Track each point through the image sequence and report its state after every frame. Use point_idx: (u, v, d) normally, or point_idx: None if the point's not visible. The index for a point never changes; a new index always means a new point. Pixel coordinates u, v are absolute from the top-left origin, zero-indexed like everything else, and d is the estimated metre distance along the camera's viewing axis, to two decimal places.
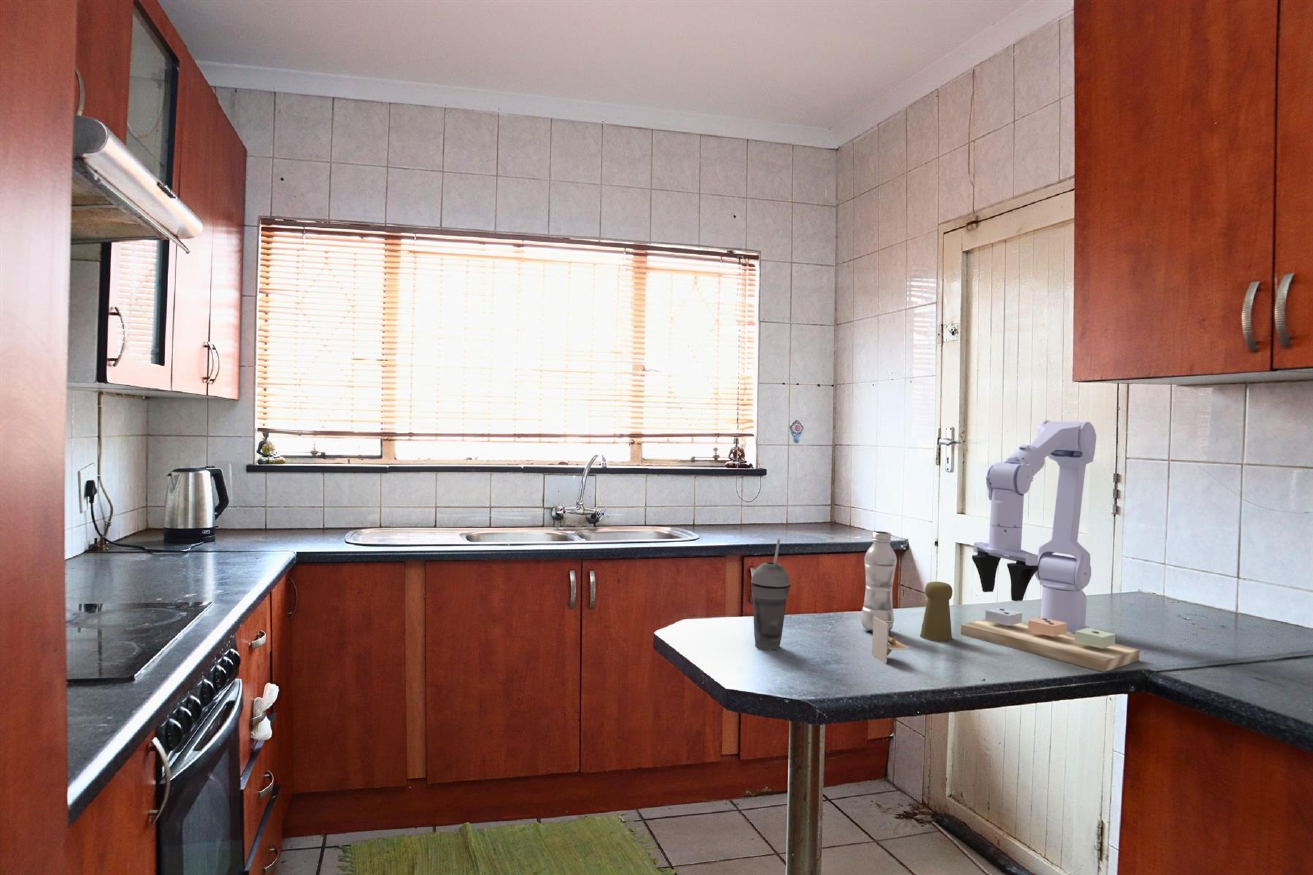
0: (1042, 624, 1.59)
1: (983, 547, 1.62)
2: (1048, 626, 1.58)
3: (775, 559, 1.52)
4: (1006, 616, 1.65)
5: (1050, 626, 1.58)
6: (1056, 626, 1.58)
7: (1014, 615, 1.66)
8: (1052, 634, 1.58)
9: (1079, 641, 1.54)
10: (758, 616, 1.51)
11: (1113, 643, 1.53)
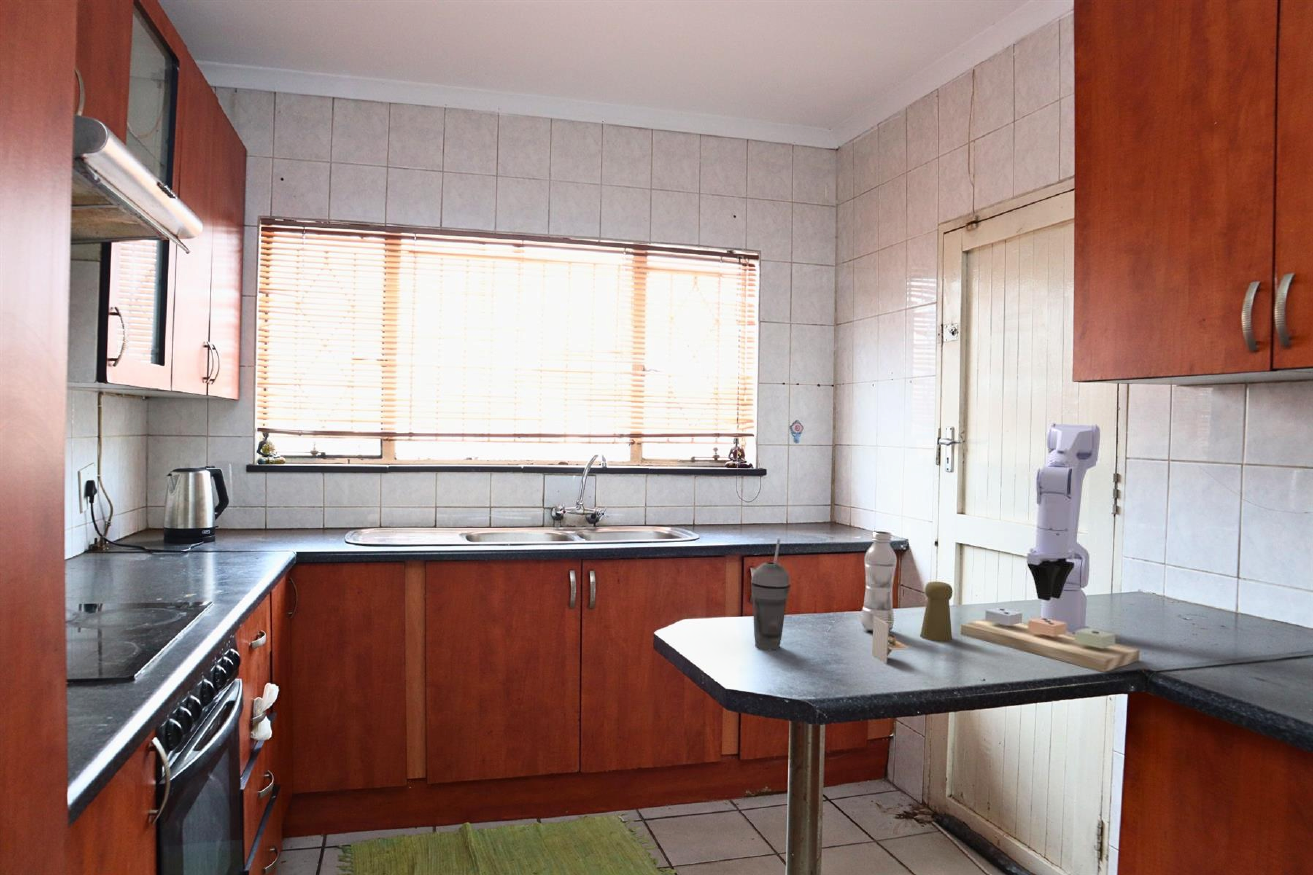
0: (1042, 624, 1.59)
1: None
2: (1048, 626, 1.58)
3: (775, 559, 1.52)
4: (1006, 616, 1.65)
5: (1050, 626, 1.58)
6: (1056, 626, 1.58)
7: (1014, 615, 1.66)
8: (1052, 634, 1.58)
9: (1079, 641, 1.54)
10: (758, 616, 1.51)
11: (1113, 643, 1.53)
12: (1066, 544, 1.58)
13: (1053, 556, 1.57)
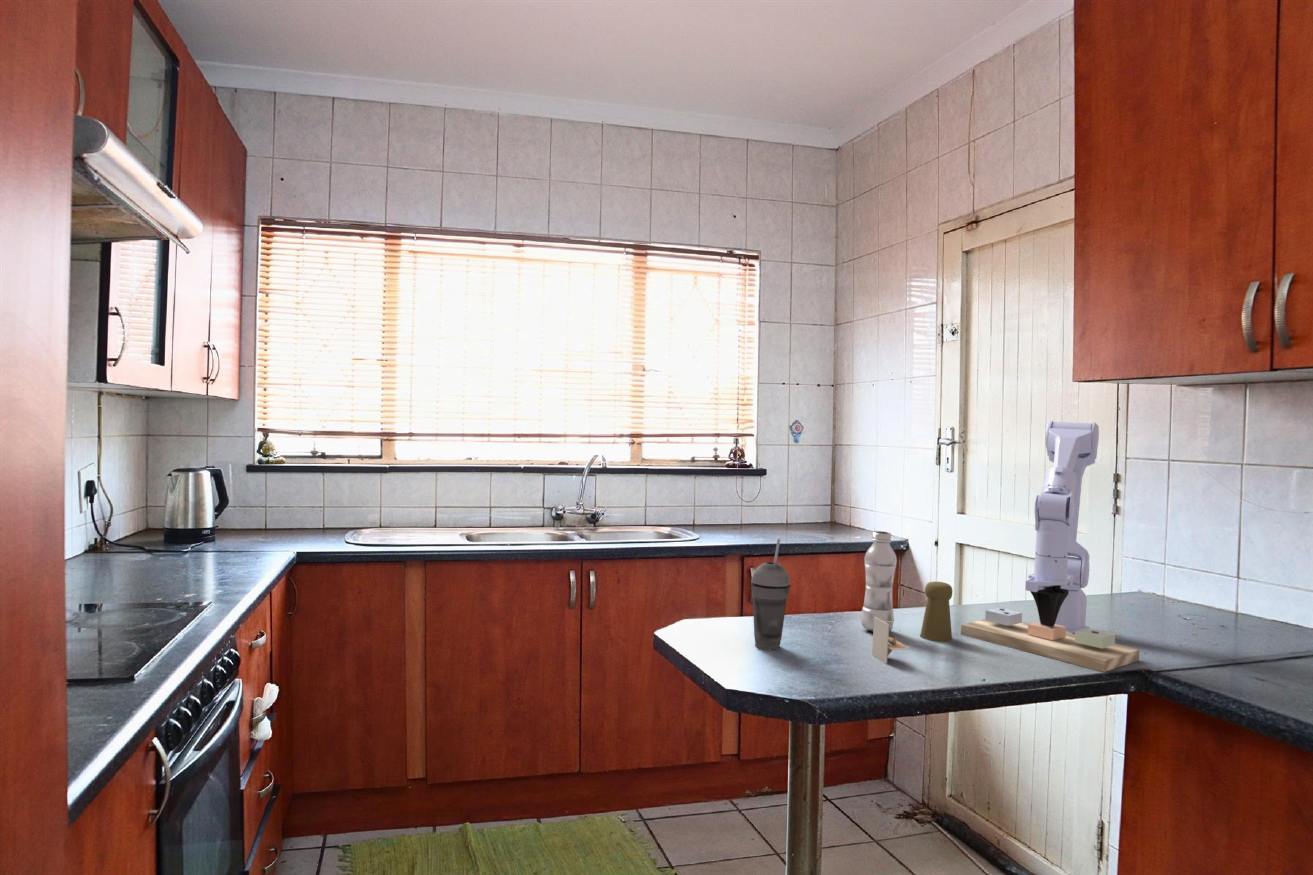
0: (1042, 628, 1.59)
1: None
2: (1048, 630, 1.58)
3: (775, 559, 1.52)
4: (1006, 616, 1.65)
5: (1050, 630, 1.58)
6: (1056, 630, 1.58)
7: (1014, 615, 1.66)
8: (1052, 638, 1.58)
9: (1079, 641, 1.54)
10: (758, 616, 1.51)
11: (1113, 643, 1.53)
12: (1064, 571, 1.58)
13: (1051, 583, 1.57)
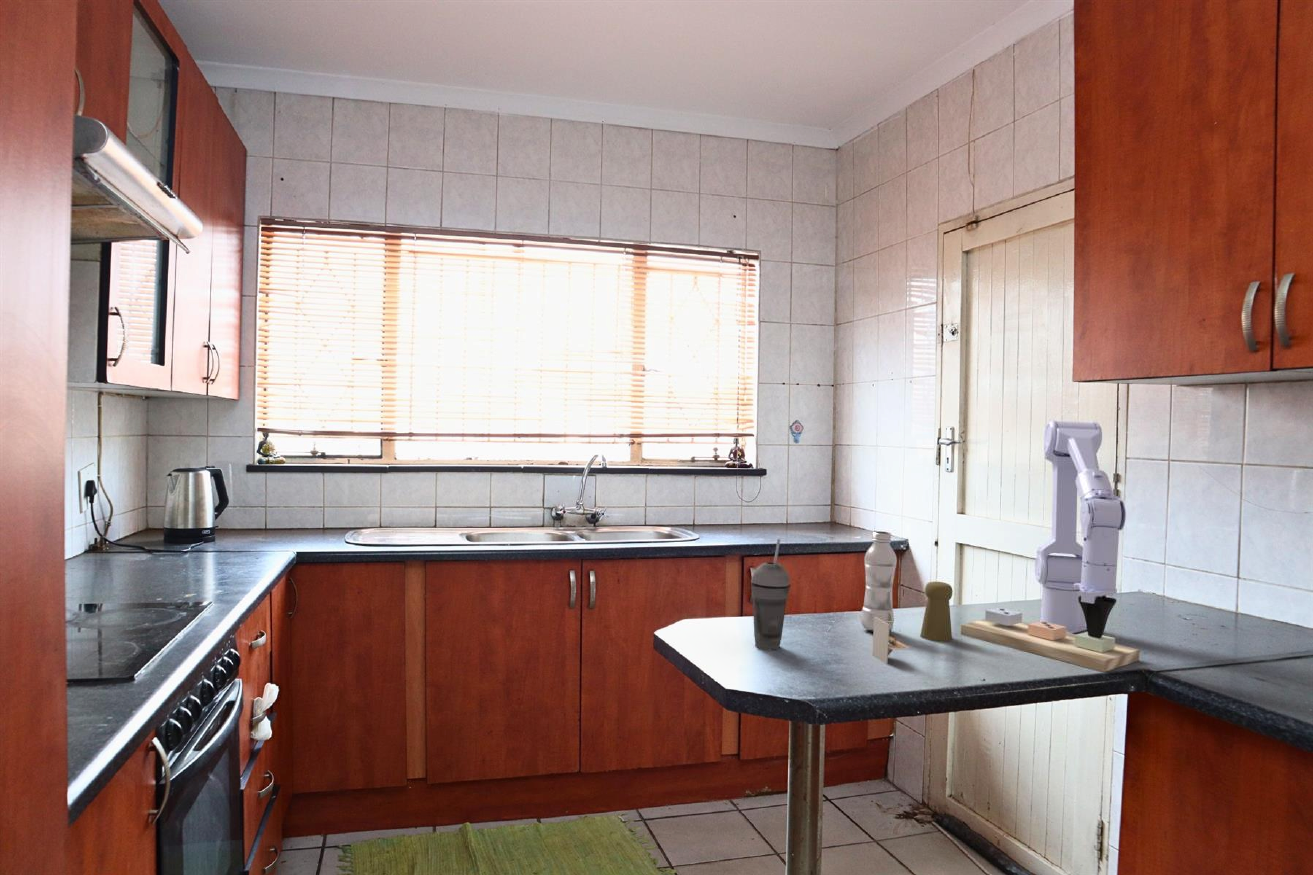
0: (1042, 628, 1.59)
1: None
2: (1048, 630, 1.58)
3: (775, 559, 1.52)
4: (1006, 616, 1.65)
5: (1050, 630, 1.58)
6: (1056, 630, 1.58)
7: (1014, 615, 1.66)
8: (1052, 638, 1.58)
9: (1079, 645, 1.54)
10: (758, 616, 1.51)
11: (1113, 647, 1.53)
12: (1115, 579, 1.52)
13: (1105, 593, 1.50)
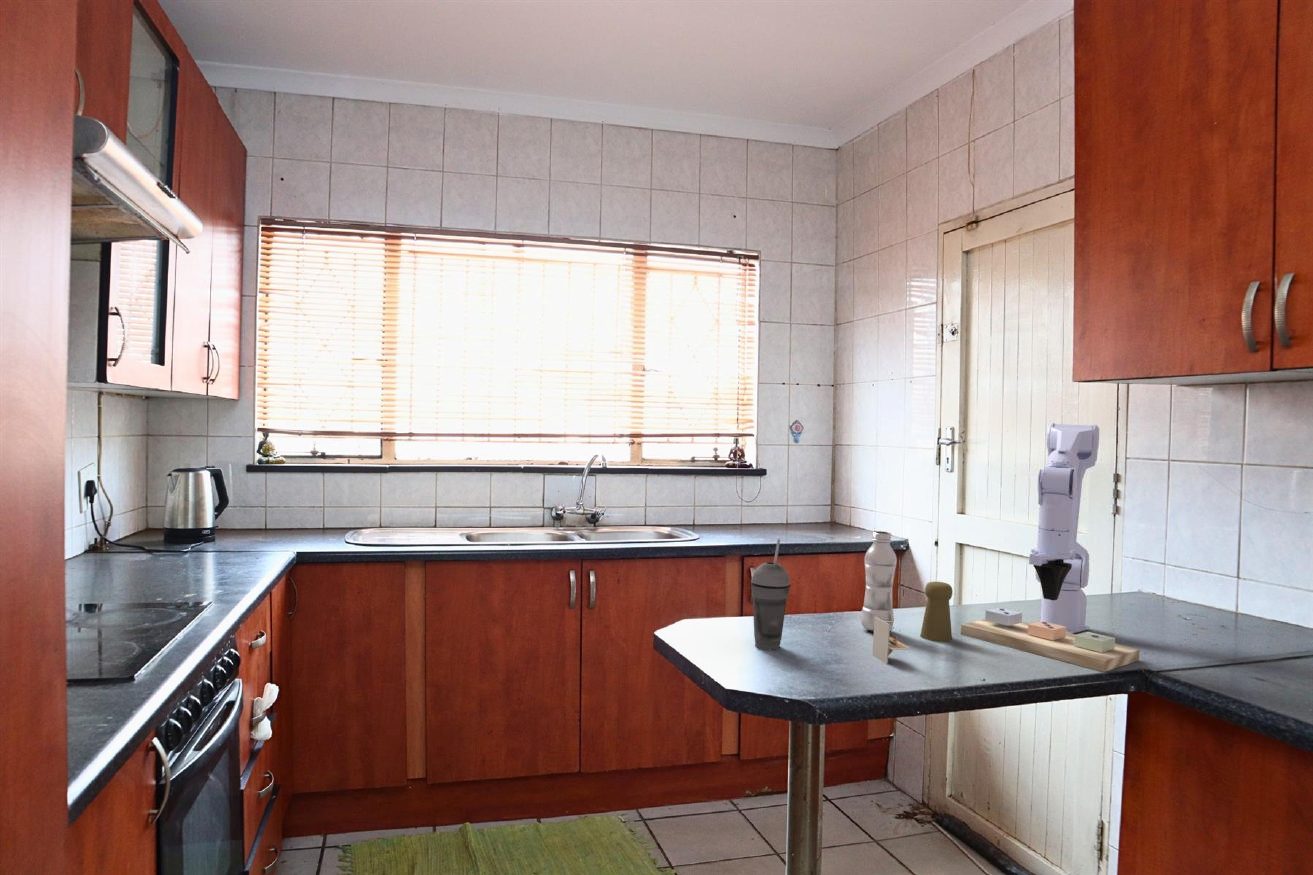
0: (1042, 628, 1.59)
1: None
2: (1048, 630, 1.58)
3: (775, 559, 1.52)
4: (1006, 616, 1.65)
5: (1050, 630, 1.58)
6: (1056, 630, 1.58)
7: (1014, 615, 1.66)
8: (1052, 638, 1.58)
9: (1079, 645, 1.54)
10: (758, 616, 1.51)
11: (1113, 647, 1.53)
12: (1068, 545, 1.58)
13: (1055, 557, 1.57)
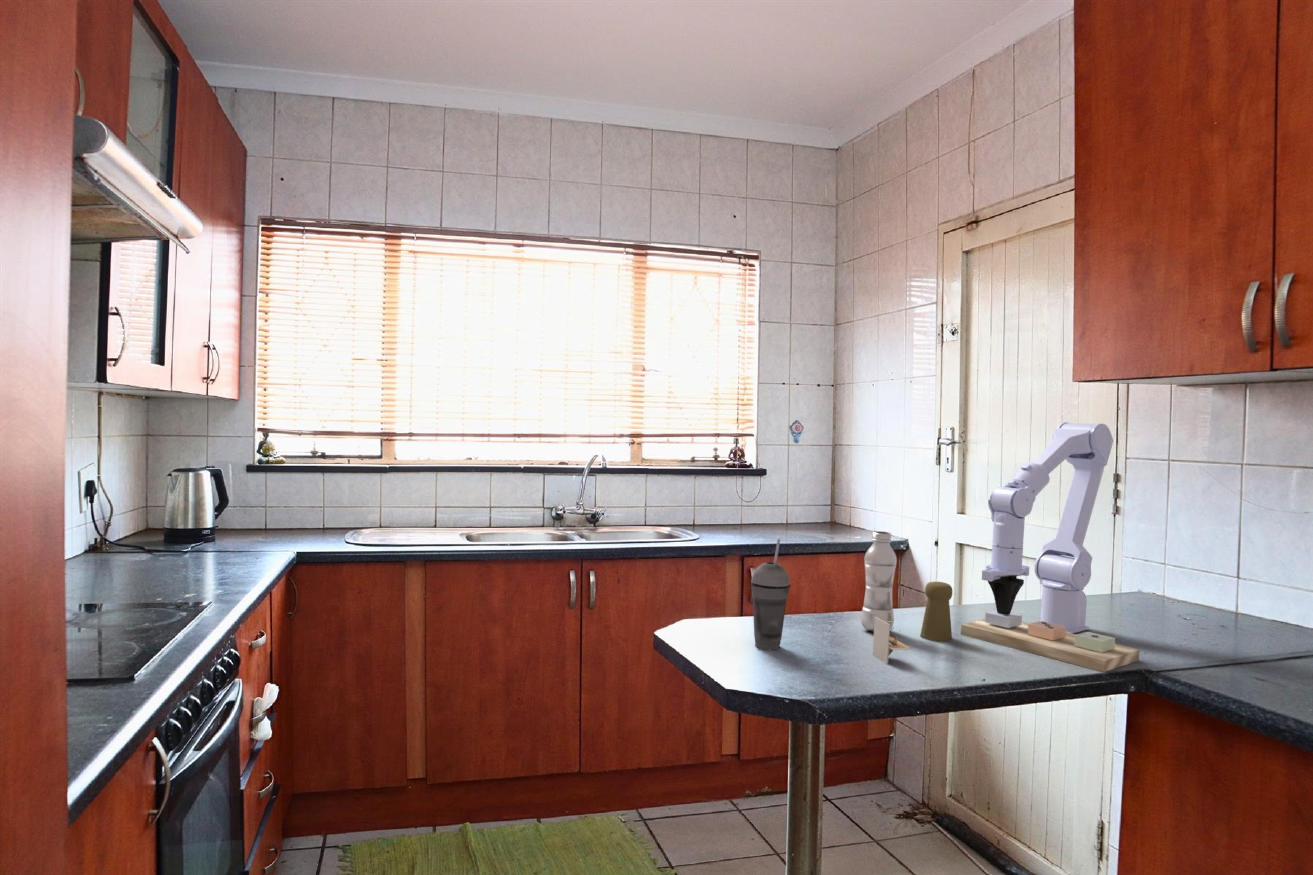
0: (1042, 628, 1.59)
1: None
2: (1048, 630, 1.58)
3: (775, 559, 1.52)
4: (1006, 618, 1.65)
5: (1050, 630, 1.58)
6: (1056, 630, 1.58)
7: (1014, 617, 1.66)
8: (1052, 638, 1.58)
9: (1079, 645, 1.54)
10: (758, 616, 1.51)
11: (1113, 647, 1.53)
12: (1019, 561, 1.66)
13: (1007, 573, 1.64)
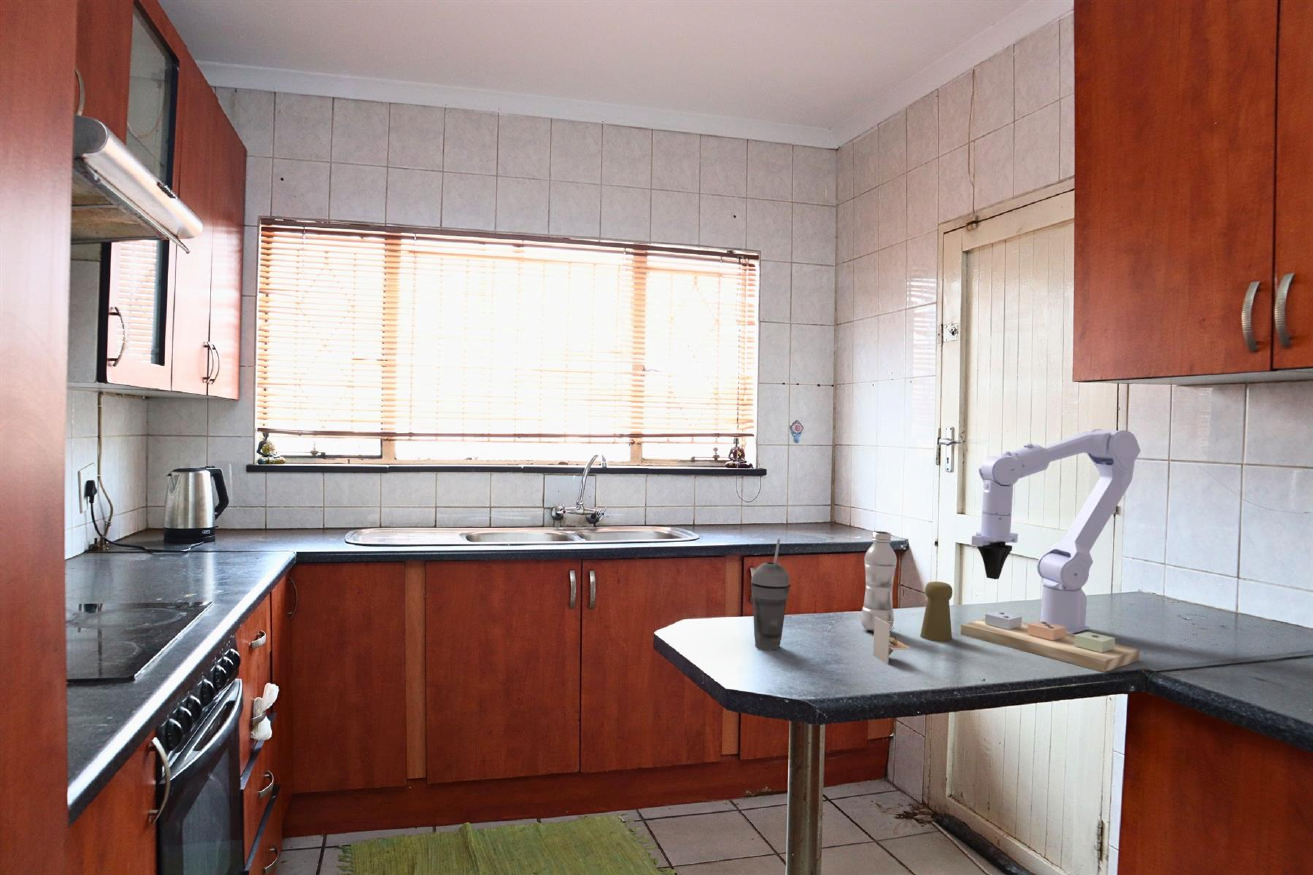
0: (1042, 628, 1.59)
1: None
2: (1048, 630, 1.58)
3: (775, 559, 1.52)
4: (1006, 620, 1.65)
5: (1050, 630, 1.58)
6: (1056, 630, 1.58)
7: (1014, 619, 1.66)
8: (1052, 638, 1.58)
9: (1079, 645, 1.54)
10: (758, 616, 1.51)
11: (1113, 647, 1.53)
12: (1008, 528, 1.72)
13: (995, 539, 1.71)
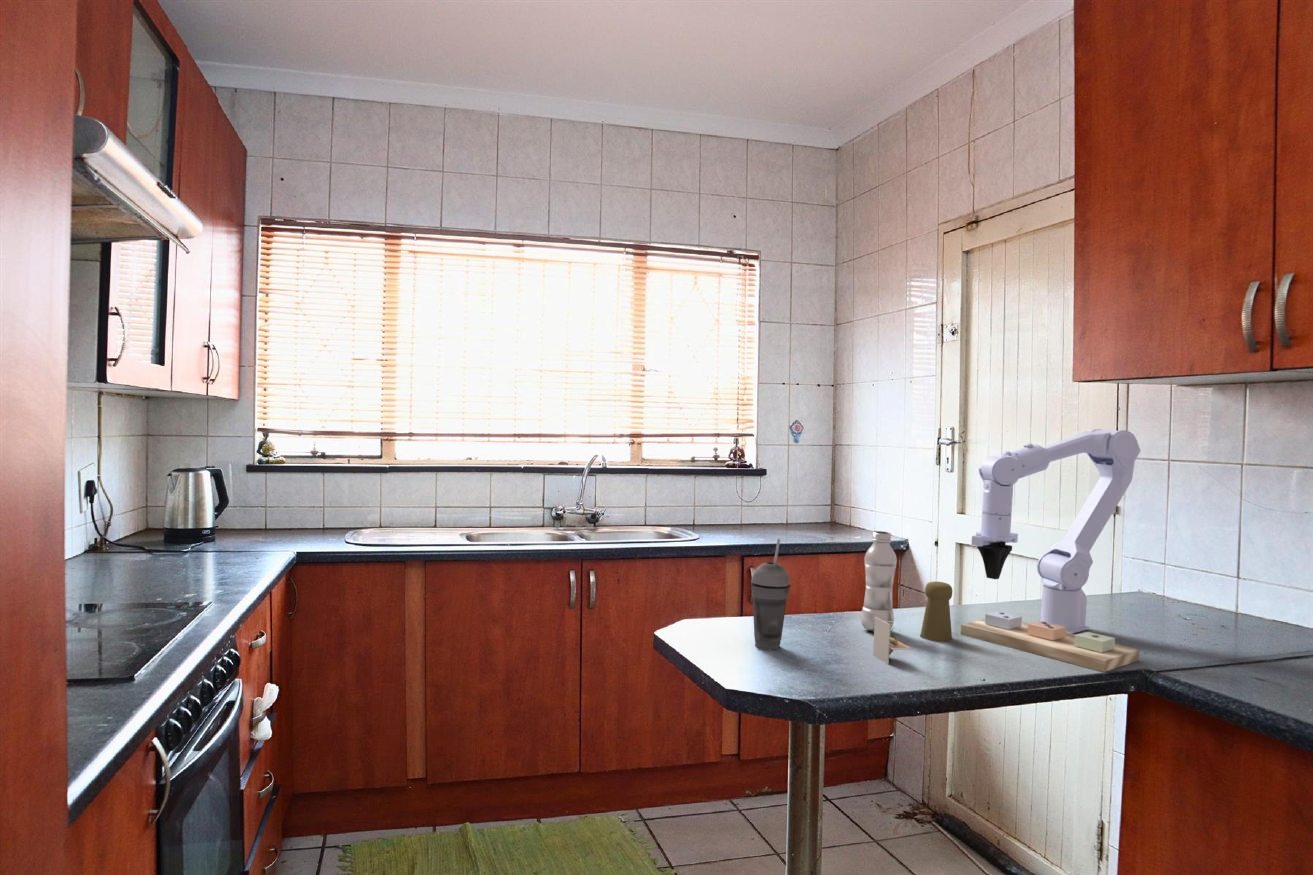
0: (1042, 628, 1.59)
1: None
2: (1048, 630, 1.58)
3: (775, 559, 1.52)
4: (1006, 620, 1.65)
5: (1050, 630, 1.58)
6: (1056, 630, 1.58)
7: (1014, 619, 1.66)
8: (1052, 638, 1.58)
9: (1079, 645, 1.54)
10: (758, 616, 1.51)
11: (1113, 647, 1.53)
12: (1008, 528, 1.72)
13: (995, 539, 1.71)
